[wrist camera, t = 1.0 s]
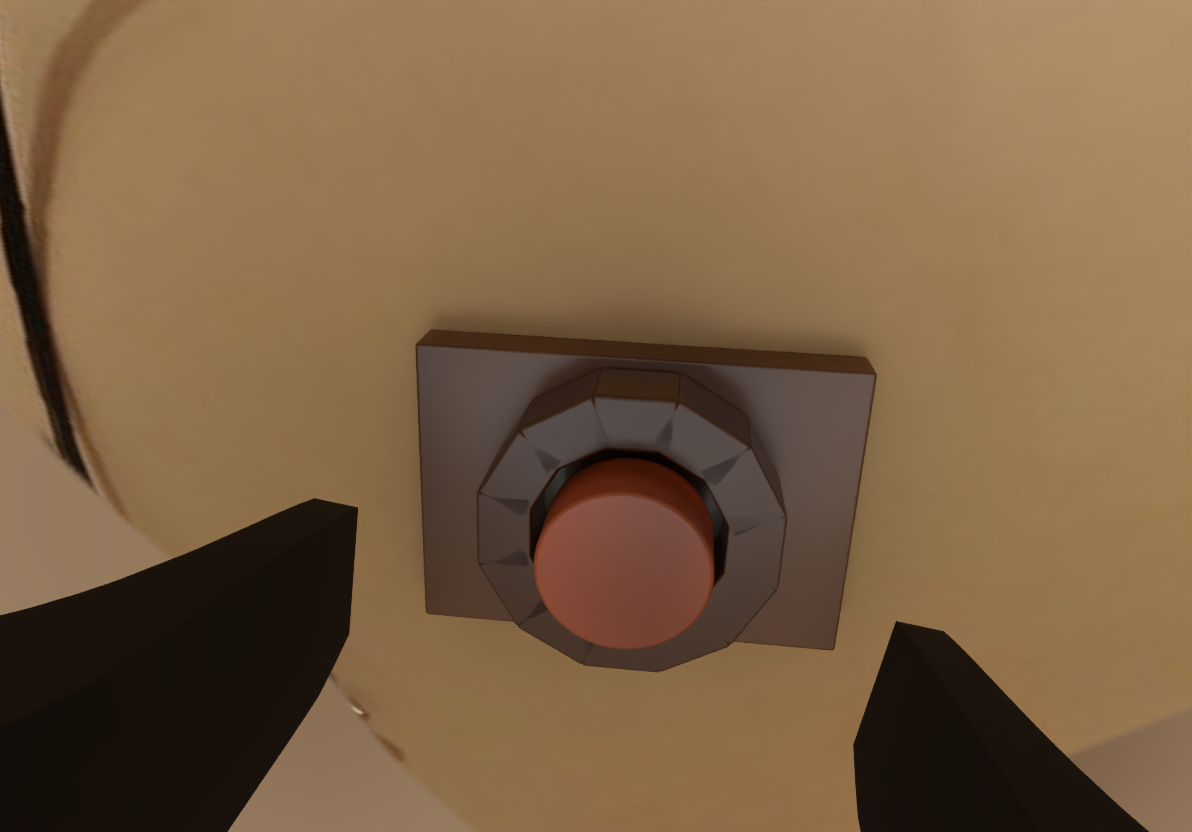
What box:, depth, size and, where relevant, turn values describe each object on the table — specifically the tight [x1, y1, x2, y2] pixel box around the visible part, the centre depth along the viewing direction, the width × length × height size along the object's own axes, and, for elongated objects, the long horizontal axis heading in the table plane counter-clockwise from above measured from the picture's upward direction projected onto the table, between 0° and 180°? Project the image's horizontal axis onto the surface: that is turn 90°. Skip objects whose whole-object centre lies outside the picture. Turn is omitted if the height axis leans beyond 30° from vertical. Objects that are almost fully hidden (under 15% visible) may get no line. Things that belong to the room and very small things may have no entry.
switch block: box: [416, 330, 877, 672], centre depth 21 cm, size 10×7×3 cm
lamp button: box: [533, 458, 714, 650], centre depth 19 cm, size 4×4×2 cm
